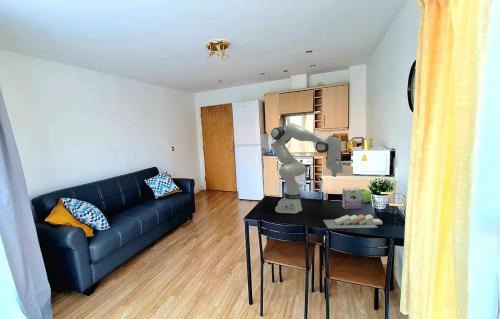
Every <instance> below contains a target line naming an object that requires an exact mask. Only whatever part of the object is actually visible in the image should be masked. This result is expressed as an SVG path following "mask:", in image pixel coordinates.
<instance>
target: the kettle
mask: <svg viewBox="0 0 500 319" xmlns="http://www.w3.org/2000/svg"><path fill="white" fill-rule="evenodd" d="M361 189H362V204H366V203H368V202H369V203H370V202H372V200H371V192H370V191H371V190H367V189H365V188H361Z"/></svg>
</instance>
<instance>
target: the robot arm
mask: <svg viewBox="0 0 500 319" xmlns="http://www.w3.org/2000/svg"><path fill="white" fill-rule="evenodd" d="M270 136H271V138H272V139H273V140H275V141H273V143H272V145H271V146H272V150H273V152H274V154H275V156H276V158H277V160H278V161H279V162H280V163H281V164H283V165H282V166H280V167H279V169H278V174H279V176H280V177H281V178H282V179H283V180H284V183H285V189H286V192H282V193H283V198H281V199H280V200H279V201H277V202H278V203H277V206H275V208H274V210H275V212H276V213H279V214H298V213H299V212H301V211H303V208H302V202H301V196H302V195H301V194H302V193H301V188H300V187H301V186H300V185H301V184H300V183H299V182H298V181H297V180H296V177H300V176H302V175H304V174H305V173H306V170H307V168H306V165H305V164H304V163H302V162H301V161H298V160H297V159H296V158H295V157H293V155H292V154H291V153H290V150H289V149H288V147H287V146H286V145H287V144H288V143H289V142H290V141H291V139H292V138H293V139H294V140H296V141H300V142H312V143H314V144H315V146H314V147H315V150H316V152H317V153H319V154H326V153H327V155H326V156H325V163H326V169H327V170H330V171H331V177H332V178H333V177H334V178H337V174H341V173H343V170H344V168H343V163H342V155H341V154H342V153H341V149H342V143H341V138H340V137H339V136H338V135H329V136H326V137H325V138H324V137H322V136H320V135H318V134H315V133H314V132H312V131H310V130H308V129H306V128H305V127H302V126H301V125H299V124H295V123H292V122H290V123H287V124H286V125H285V127H282V126H281V127H274V128H272V130H271V132H270Z"/></svg>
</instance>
